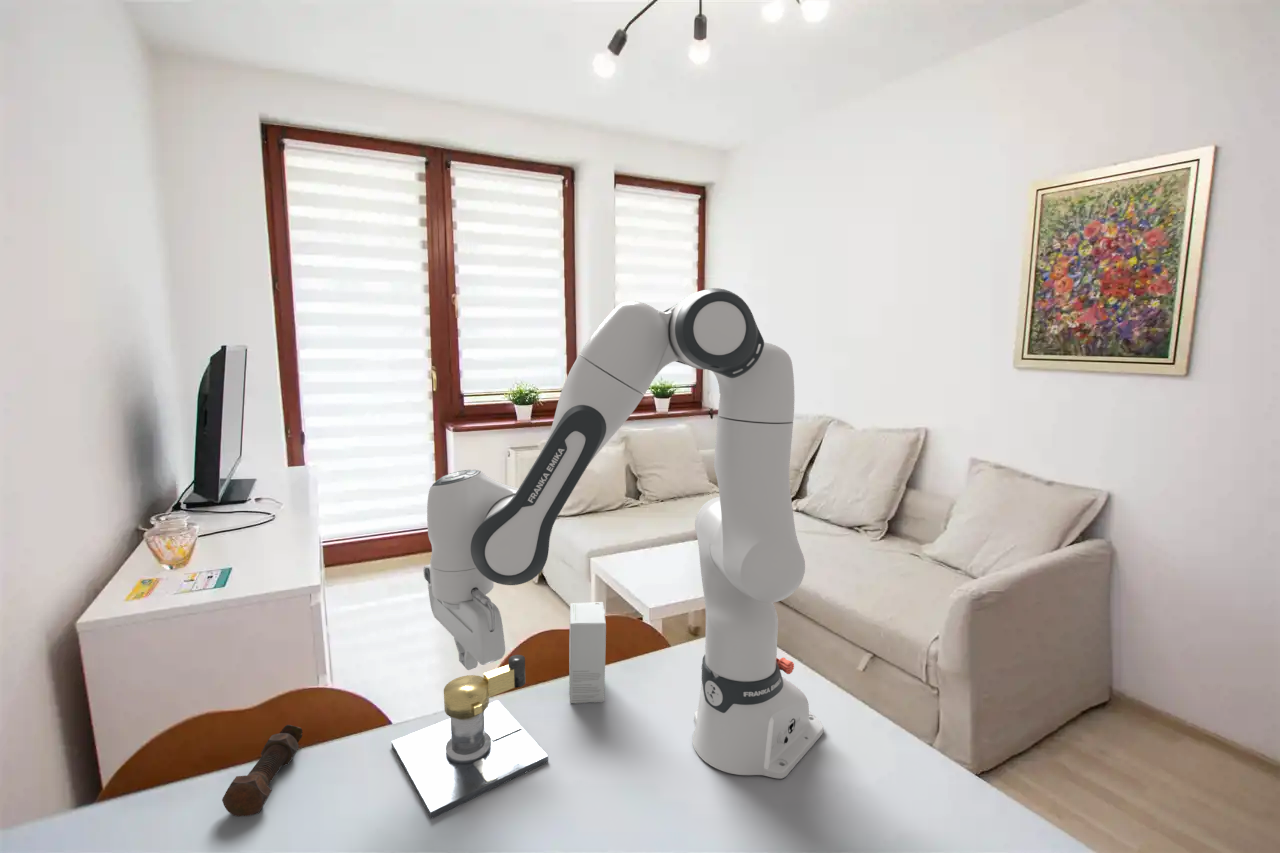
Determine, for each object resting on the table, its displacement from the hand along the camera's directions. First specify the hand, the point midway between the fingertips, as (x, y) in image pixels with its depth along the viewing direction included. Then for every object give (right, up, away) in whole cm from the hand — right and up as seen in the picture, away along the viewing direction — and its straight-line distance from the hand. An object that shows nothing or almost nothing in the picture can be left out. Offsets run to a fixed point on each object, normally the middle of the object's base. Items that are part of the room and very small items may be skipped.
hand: (468, 665), depth 91 cm
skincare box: (+16, -13, +19) cm, 28 cm away
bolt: (-28, -16, -3) cm, 32 cm away
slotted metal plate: (-1, -15, +2) cm, 15 cm away
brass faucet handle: (+2, -6, +3) cm, 7 cm away
